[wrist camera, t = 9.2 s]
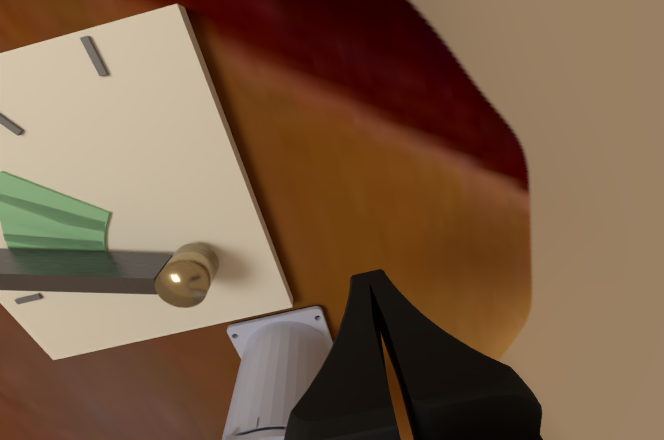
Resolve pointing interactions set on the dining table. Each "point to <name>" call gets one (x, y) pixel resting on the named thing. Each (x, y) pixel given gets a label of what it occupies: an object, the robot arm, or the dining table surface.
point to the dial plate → (127, 180)
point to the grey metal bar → (113, 272)
